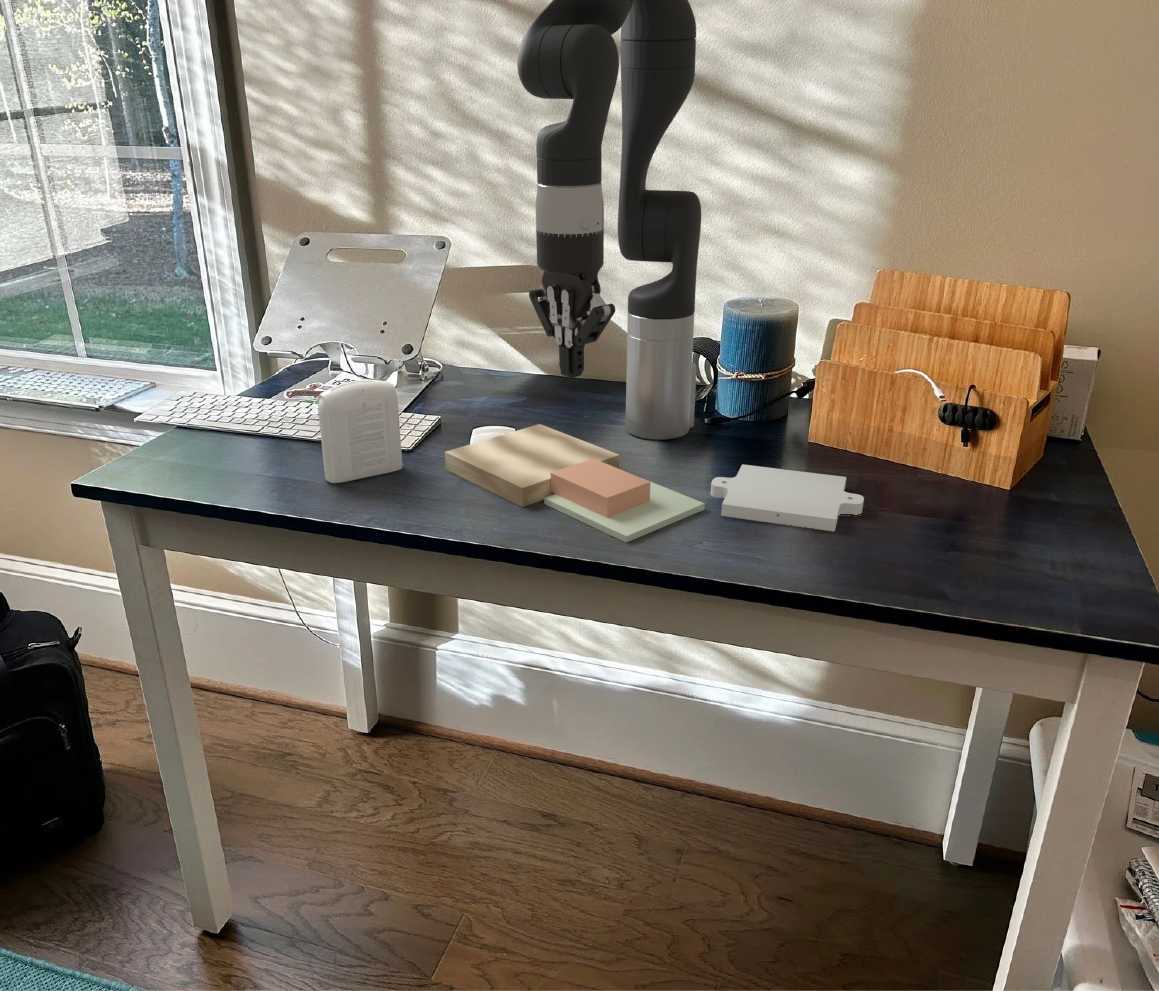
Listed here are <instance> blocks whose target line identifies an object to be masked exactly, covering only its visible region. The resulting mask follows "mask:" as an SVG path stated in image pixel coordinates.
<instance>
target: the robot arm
mask: <svg viewBox="0 0 1159 991" xmlns="http://www.w3.org/2000/svg"><path fill="white" fill-rule="evenodd" d="M619 30H620V55H619V50H618V48H617V47H618V46H617V44H616V42H615V41H616V40H615V39H614V37H613V36H612V35H614V34H615V33H617V32H618V31H619ZM696 38H697V22H696V18H695V14H694V11H693V9H692V6H691V4H690V2H689V0H551V1H550V2H549V4H547V6H546V7H545V8H544V9H543V10H541V11H540V13H539V14H538V15H537V17H536V18H535V19H534V20H533V21H532V22H531V24H530V25H529V27H528V28H527V30H526V31H525V33H524V35H523V37H522V39H521V42H520V44H519V47H518V53H517V58H516V60H517V61H516V63H517V74H518V77H519V80H520V82H521V85H522V87H523V88H524V89H525V90H526V92H528V93H529V94H530V95H531V96H533V97H536V98H540V99H549V100H572V103H571V104H572V105H571V107H570V111H569V113H568V116H567V118H566V119H565V120H564V121H561V122H557V123H552V124H549V125H546V126H544V127H542V128H541V129H539V131H538V134H537V137H536V152H535V153H536V178H537V179H536V180H537V181H536V182H537V184H536V185H537V186H536V195H535V231H536V232H535V235H536V236H535V237H536V238H535V239H536V240H535V241H536V265H537V267H538V268H539V270H541V271H543V273H542V275H541V285H540V286H539V287H538V288H537V289H532V290H529V293H528V298H529V300H530V302H531V304H532V306H533V308H534V311H535V313H536V315H537V317H538V319H539V321H540V323H541V325H542V329H543V330H544V332H545V334H546V336H547V337H553V338H554V340H555V343H556V345H558V360H559V361H558V362H559V369H560V374H561V376H563V377H567V378H569V379H574V378H577V377H580V376H582V375H583V372H584V369H585V346H586V344H591V343H596V342H597V341H598V339H599V337H600V336H601V335H602V333H603V332H604V330H605V329H606V327H607V325H608V323H609V322H610V320H612V318H613V316H614V314H615V313H616V306H615V304H613V303H612V302H611V303H606V302H605V301H604V299H603V298H602V295H600V294H601V292H602V291H601V288H602V287H601V284H600V281H599V277H598V276H599V275H598V274H599V272H600V270H601V269H602V268H603V266H604V264H605V262H604V261H605V260H604V257H605V253H604V252H605V251H604V250H605V248H604V245H605V244H604V242H605V241H604V240H605V235H604V234H605V228H604V227H605V224H604V223H605V220H604V219H605V216H604V215H605V214H604V213H605V211H604V210H605V207H604V204H605V203H604V195H603V186H602V185H603V184H602V168H603V166H602V164H603V163H602V157H603V156H602V147H603V146H602V145H603V139H604V136H605V135H604V134H605V132H606V131H605V129H606V126H607V121H608V117H609V114H610V113H609V112H610V108H611V103H612V99H613V96H614V94H615V90H616V85H617V81H618V76H619V71H620V90H621V91H620V92H621V93H620V94H621V127H622V128H621V160H620V176H619V177H620V178H619V180H620V181H619V194H618V206H617V208H618V211H617V242H618V247H619V251H620V254H621V255H622V257H623V258H624V259H626V260H628V261H634V262H650V263H654V262H655V263H671V264H672V269H671V271H670V272H669V273H668V274H666V275H664V276H663V277H662V278H659V279H658V280H654V281H652V282H649V283H645V284H642V285H639V286H636V287H635V288H632V290H630V292H629V293H628V296H627V321H626V322H627V324H626V326H627V327H626V328H627V330H626V331H627V332H626V333H627V334H626V336H627V338H626V382H625V383H626V385H625V386H626V387H625V388H626V389H625V390H626V394H625V398H626V399H625V431H626V432H627V433H629V434H630V435H632V436H634V437H637V438H642V439H646V440H670V439H676V438H681V437H683V436H685V435H687V434H688V433H689V431H690V429H691V428H694V425H695V407H696V404H695V403H696V387H697V386H696V385H697V368H698V367H697V364H696V363H694V362H693V357H694V356H693V352H694V330H695V311H696V310H695V308H696V287H697V268H698V258H699V248H700V239H701V228H702V205H701V200H700V199H699V198H700V197H699V196H698V195H697V194H696V193H695V192H694V191H689V190H669V189H668V190H666V189H665V190H664V189H663V190H662V189H658V190H657V189H647V188H646V182H647V176H648V171H649V168H650V164H651V161H652V160H653V157H654V154H655V152H656V150H657V148H658V146H659V144H660V143H661V140H662V138H663V137H664V135H665V133H666V131H667V130H668V128H669V127H670V125H671V123H672V122H673V121H674V119H675V118H676V116H677V114H678V113H679V112H680V110H681V108H682V106H683V104H684V103H685V102H686V100H687V99H688V95H689V94H690V92H691V90H692V87H693V84H694V81H695V76H696V51H697V50H696V49H697V48H696V46H697V39H696ZM619 69H620V70H619Z"/></svg>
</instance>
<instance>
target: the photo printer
mask: <svg viewBox="0 0 1159 991" xmlns="http://www.w3.org/2000/svg"><path fill="white" fill-rule="evenodd" d="M398 398H399V397H398V393H397V390H396V388H395V385H394V384H393V383H391V382H389V381H386V380H380V379H359V380H352V381H347V382H345V383H341V384H338V385H335V386H333V387H330V388H328V389H326V390H324V391H321V393H320V394H319V395H318V396H317V412H318V413H317V414H318V419H319V420H318V421H319V429H320V430H319V432H320V440H321V451H322V460H323V468H324V479H325V480H326V482H328V483H331V484H338V483H340V484H341V483H346V482H350V481H354V480H356V481H357V480H360V479H364V478H368V477H375V476H378V475H379V476H380V475H384V474H389V473H393V472H396V471H400V470H402V468H403V455H402V454H403V453H402V440H401V429H400V428H401V427H400V414H399V413H400V411H399V399H398Z"/></svg>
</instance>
